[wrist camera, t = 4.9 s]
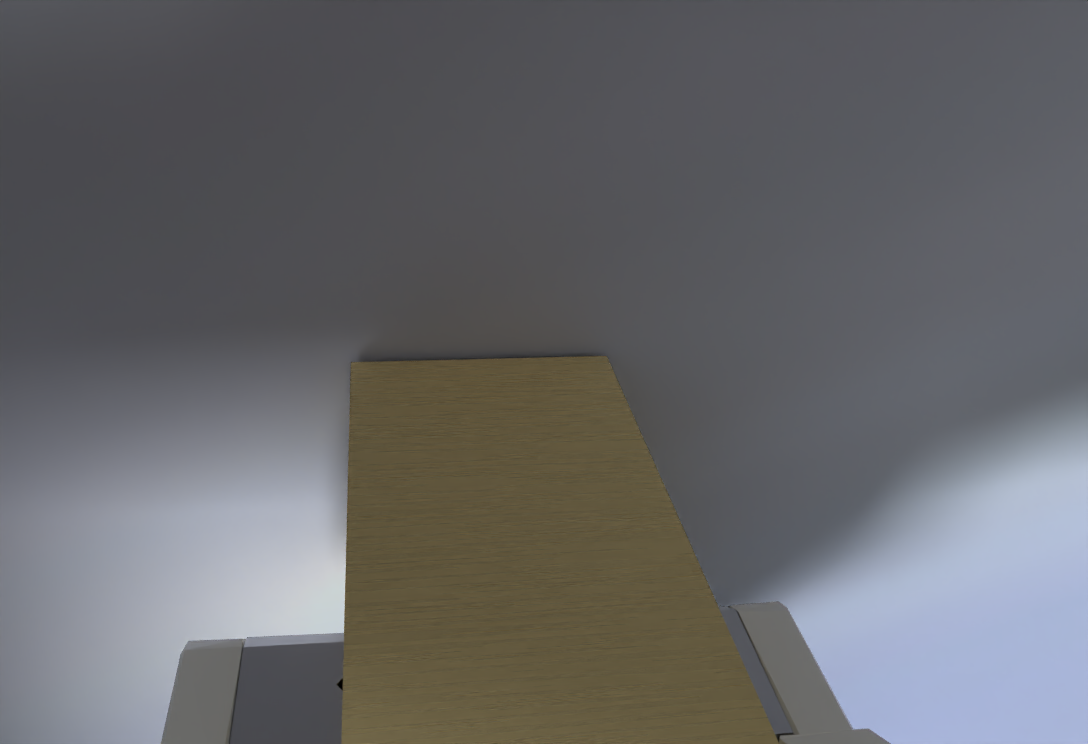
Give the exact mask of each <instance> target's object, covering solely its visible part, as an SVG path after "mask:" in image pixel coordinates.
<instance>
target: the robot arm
mask: <svg viewBox="0 0 1088 744" xmlns="http://www.w3.org/2000/svg"><path fill="white" fill-rule="evenodd" d="M719 610H720V612H721V614H722V616H723V619H724V621H725V623H726V625H727V628H728V630H729V632H730V634H731V636H732V639H733V641H734V643H735V645H736V648H737V650H738V652H739V654H740V657H741V659H742V661H743V663H744V666H745V668H746V670H747V672H748V675H749V677H750V679H751V681H752V684H753V686H754V688H755V690H756V693H757V695H758V697H759V699H760V702H761V704H762V706H763V708H764V711H765V713H766V715H767V717H768V720H769V722H770V724H771V726H772V729H773V731H774V733H775V735H776V738H777V740H778V742H779V744H891V743H889V742H888V741H886V740H885V739H883V738H882V737H880V736H879V735H877V734H876V733H874V732H873V731H871V730H870V729H854V730H853V728H852V726H851V724H850V722H849V720H848V719H847V717H846V715H845V713H844V711H843V709H842V708H841V706H840V704H839V702H838V700H837V698H836V697H835V695H834V693H833V691H832V689H831V687H830V686H829V684H828V682H827V680H826V678H825V676H824V674H823V673H822V671H821V669H820V667H819V665H818V663H817V662H816V660H815V658H814V656H813V654H812V652H811V651H810V649H809V647H808V645H807V643H806V641H805V640H804V638H803V636H802V634H801V632H800V630H799V628H798V627H797V625H796V623H795V621H794V619H793V617H792V616H791V614H790V612H789V610H788V608H787V607H786V606H784V605H783V604H782V603H780V602H779V601H776V602H764V603H752V604H740V605H730V606H729V607H725V606H721V607H719ZM343 660H344V633H332V634H309V635H286V636H264V637H247V639H225V640H199V641H188V642H187V644H186V646H185V648H184V649H183V651H182V653H181V655H180V659H179V664H178V668H177V673H176V677H175V682H174V687H173V691H172V696H171V700H170V705H169V709H168V714H167V718H166V723H165V727H164V732H163V736H162V741H161V744H341V740H342V700H343Z"/></svg>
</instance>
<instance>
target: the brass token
mask: <svg viewBox="0 0 1088 744" xmlns="http://www.w3.org/2000/svg"><path fill="white" fill-rule="evenodd" d="M341 744H779V742H778V740H777V738H776V735H775V733H774V731H773V729H772V726H771V724H770V722H769V720H768V717H767V715H766V713H765V711H764V708H763V706H762V704H761V702H760V699H759V697H758V695H757V693H756V690H755V688H754V686H753V684H752V681H751V679H750V677H749V675H748V672H747V670H746V668H745V666H744V663H743V661H742V659H741V657H740V654H739V652H738V650H737V648H736V645H735V643H734V641H733V639H732V636H731V634H730V632H729V630H728V628H727V625H726V623H725V621H724V619H723V616H722V614H721V612H720V610H719V607H718V605H717V603H716V601H715V598H714V596H713V594H712V592H711V589H710V587H709V585H708V583H707V580H706V578H705V576H704V574H703V571H702V569H701V567H700V565H699V562H698V560H697V558H696V556H695V553H694V551H693V549H692V547H691V544H690V542H689V540H688V538H687V535H686V533H685V531H684V529H683V526H682V524H681V522H680V520H679V517H678V515H677V513H676V511H675V508H674V506H673V504H672V502H671V499H670V497H669V495H668V493H667V491H666V488H665V486H664V484H663V482H662V479H661V477H660V475H659V473H658V470H657V468H656V466H655V464H654V461H653V459H652V457H651V455H650V452H649V450H648V448H647V446H646V443H645V441H644V439H643V437H642V434H641V432H640V430H639V428H638V425H637V423H636V421H635V419H634V416H633V414H632V412H631V410H630V407H629V405H628V403H627V401H626V398H625V396H624V394H623V392H622V389H621V387H620V385H619V383H618V380H617V378H616V376H615V374H614V371H613V369H612V367H611V365H610V362H609V360H608V358H607V356H583V357H543V358H503V359H462V360H422V361H382V362H351V379H350V419H349V460H348V500H347V540H346V580H345V620H344V660H343V700H342V740H341Z"/></svg>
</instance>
